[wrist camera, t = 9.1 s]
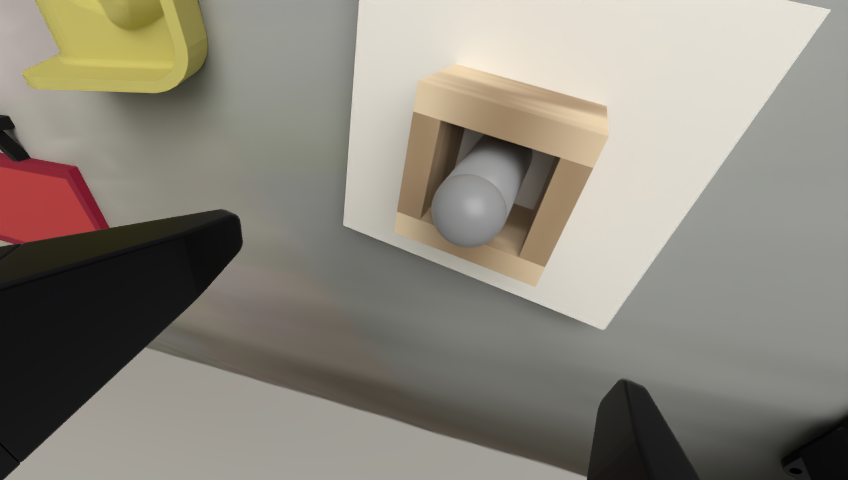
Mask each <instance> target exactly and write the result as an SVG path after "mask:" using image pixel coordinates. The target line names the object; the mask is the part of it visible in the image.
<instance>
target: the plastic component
mask: <svg viewBox="0 0 848 480" xmlns="http://www.w3.org/2000/svg"><path fill="white" fill-rule="evenodd" d="M35 2H36V4H37V6H38V8H39V10H40V12H41V14H42V16H43V18H44V20H45V22H46V24H47V26H48V28H49V30H50V32H51V34H52V36H53V38H54V40H55V42H56V44H57V46H58V49H59V51H60V54H58V55H56V56H54V57H52V58H50V59H47V60H45V61H43V62H41V63H39V64H37V65H35V66H33V67H31V68H29V69H27V70H24V71H23V72H22V75H23V76H24V78H25V80H26V82H27V84H28V85H29V86H30V87H32V88H36V89H54V90H82V91H111V92H139V93H159V92H164V91H168V90H170V89H172V88H173V87H175V86H177V85H178V84H180V83H181V82H183V81H184V80H186V79H187V78H188V77H190V76H191V75H193V74H194V73H196V72H197V71H198V70H199V69H200V68H201V66H202V65H203V64H204V61H205V59H206V57H207V51H208V41H207V34H206V30H205V26H204V22H203V18H202V15H201V11H200V7H199V3H198V0H35Z"/></svg>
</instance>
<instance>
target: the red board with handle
mask: <svg viewBox="0 0 848 480" xmlns="http://www.w3.org/2000/svg"><path fill="white" fill-rule="evenodd" d="M14 127H15V126H14V124H13V122H12V121H11V119H10V117H9V116H5V115H0V150H1V151H2V152H4V153H0V240H2V241H5V242H9V243H12V244H23V243H25V242H31V241H37V240H43V239H48V238H54V237H60V236H66V235H72V234H78V233H84V232H90V231H95V230H101V229H107V228H109V226H108V224H107V222H106V221H105V219H104V217H103V215H102V213H101V211H100V209H99V207H98V205H97V203H96V202H95V200H94V198H93V196H92V194H91V192H90V190H89V188H88V186H87V185H86V183H85V181H84V179H83V177H82V175H81V173H80V171H79V169H78V168H77V167H76V166H70V165H65V164H59V163H54V162H49V161H43V160H38V159H32V158H30V156H29V155H28V154H27V153H26V152H25V151H24V150H23V149H22V148H21V147H20V146H19V145H18V144H17V143H16V142H15V141H13V140H12V139H11V138H10V137H9V136H8V135H7V134H6V133H5V132H4V131H3V130H6V129H10V128H14Z"/></svg>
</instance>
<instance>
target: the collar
mask: <svg viewBox="0 0 848 480" xmlns="http://www.w3.org/2000/svg"><path fill="white" fill-rule="evenodd" d="M465 128H468V129H471V130H474V131H477V132H480V133H483V134H487V135H490V136H493V137H496V138H499V139H503V140H506V141H509V142H512V143H515V144H518V145H522V146H525V147H528V148H531V149H534V150H538V151H541V152H544V153H547V154H550V155H553V156H556V157H555V160H554V162H553V165H552V167H551V169H550V172H549V174H548V177H547V179H546V181H545V184H544V186H543V189H542V191H541V194H540V196H539V198H538V201H537V203H536V206H535V208H534V210H532V209H529V208H526V207H523V206H520V205H517V204H514V203H513V206H512V208H511V210H510V213H509V215H508V218H507V220H506V222H505V224H504V227H503V228H502V230H501V231H500V233H499V234H498V235H497V236H496V237H495V238H494V239H493V240H491V241H490V242H488V243H486V244H484V245H482V246H478V247H472V248H467V247H460V246H457V245H454V244H452V243H450V242H448V241H447V240H446V239H444V238H443V237H442V236H441V234H440V233H439V232H438V230H437V229H436V227H435V225H434V223H433V219H432V214H431V206H432V200H433V197H434V195H435V192H436V191H437V189H438V188H439V186H440V185H441V184H442V183H443V181H444V180H445V179H446V178H447V177H448V176H449V175H450V173H451V172H452V171H453V170H454V169H455V166H456V162H457V158H458V154H459V150H460V146H461V142H462V138H463V134H464V130H465ZM608 137H609V133H608V117H607V106H605V105H601V104H598V103H594V102H591V101H587V100H584V99H580V98H576V97H573V96H569V95H566V94H562V93H558V92H555V91H551V90H548V89H544V88H541V87H537V86H533V85H530V84H526V83H523V82H519V81H515V80H512V79H508V78H505V77H501V76H498V75H494V74H490V73H487V72H483V71H480V70H476V69H473V68H469V67H465V66H462V65H458V64H454V65H452V66H450V67H447V68H445V69H443V70H441V71H438V72H436V73H434V74H432V75H429V76H427V77H425V78H422V79H420V80H418V85H417V91H416V97H415V103H414V109H413V115H412V121H411V128H410V134H409V140H408V146H407V152H406V158H405V165H404V171H403V177H402V183H401V189H400V195H399V201H398V208H397V214H396V220H395V226H394V232H395V233H398V234H400V235H403V236H405V237H408V238H411V239H413V240H416V241H418V242H421V243H423V244H426V245H429V246H431V247H434V248H436V249H439V250H441V251H444V252H447V253H449V254H452V255H454V256H457V257H459V258H462V259H465V260H467V261H470V262H472V263H475V264H477V265H480V266H483V267H485V268H488V269H490V270H493V271H495V272H498V273H501V274H503V275H506V276H508V277H511V278H513V279H516V280H518V281H521V282H524V283H526V284H529V285H531V286H534V287H536V285H537V283H538V281H539V279H540V277H541V275H542V273H543V271H544V269H545V267H546V264H547V262H548V260H549V258H550V256H551V254H552V252H553V250H554V248H555V246H556V244H557V242H558V240H559V238H560V236H561V234H562V232H563V230H564V227H565V225H566V223H567V221H568V219H569V217H570V215H571V213H572V211H573V209H574V207H575V205H576V203H577V201H578V199H579V197H580V195H581V193H582V190H583V188H584V186H585V184H586V182H587V180H588V178H589V176H590V174H591V172H592V170H593V168H594V166H595V164H596V162H597V160H598V158H599V155H600V153H601V151H602V149H603V147H604V145H605V143H606V141H607V139H608Z"/></svg>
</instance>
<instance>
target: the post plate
mask: <svg viewBox="0 0 848 480" xmlns="http://www.w3.org/2000/svg"><path fill="white" fill-rule="evenodd" d="M830 11H831V10H830V9H825V8H820V7H815V6H811V5H806V4H801V3H796V2H792V1H787V0H359V11H358V25H357V39H356V53H355V67H354V81H353V95H352V109H351V123H350V137H349V151H348V165H347V179H346V193H345V207H344V221H343V225H344V226H346V227H349V228H351V229H353V230H356V231H358V232H361V233H363V234H366V235H368V236H371V237H373V238H376V239H378V240H381V241H383V242H386V243H388V244H391V245H393V246H396V247H398V248H401V249H403V250H406V251H408V252H411V253H413V254H416V255H418V256H421V257H423V258H426V259H428V260H430V261H433V262H435V263H438V264H440V265H443V266H445V267H448V268H450V269H453V270H455V271H458V272H460V273H463V274H465V275H468V276H470V277H473V278H475V279H478V280H480V281H483V282H485V283H488V284H490V285H493V286H495V287H498V288H500V289H503V290H505V291H508V292H510V293H512V294H515V295H517V296H520V297H522V298H525V299H527V300H530V301H532V302H535V303H537V304H540V305H542V306H545V307H547V308H550V309H552V310H555V311H557V312H560V313H562V314H565V315H567V316H570V317H572V318H575V319H577V320H580V321H582V322H585V323H587V324H589V325H592V326H594V327H597V328H599V329H602V330H605V328H606V327H607V325H608V324H609V322H610V321H611V320H612V318H613V317H614V315H615V314H616V313H617V311H618V310H619V308H620V307H621V306H622V304H623V303H624V301H625V300H626V298H627V297H628V296H629V294H630V293H631V291H632V290H633V289H634V287H635V286H636V284H637V283H638V282H639V280H640V279H641V277H642V276H643V274H644V273H645V272H646V270H647V269H648V267H649V266H650V265H651V263H652V262H653V260H654V259H655V258H656V256H657V255H658V253H659V252H660V250H661V249H662V248H663V246H664V245H665V243H666V242H667V241H668V239H669V238H670V236H671V235H672V234H673V232H674V231H675V229H676V228H677V226H678V225H679V224H680V222H681V221H682V219H683V218H684V217H685V215H686V214H687V212H688V211H689V210H690V208H691V207H692V205H693V204H694V203H695V201H696V200H697V198H698V197H699V195H700V194H701V193H702V191H703V190H704V188H705V187H706V186H707V184H708V183H709V181H710V180H711V179H712V177H713V176H714V174H715V173H716V171H717V170H718V169H719V167H720V166H721V164H722V163H723V162H724V160H725V159H726V157H727V156H728V155H729V153H730V152H731V150H732V149H733V147H734V146H735V145H736V143H737V142H738V140H739V139H740V138H741V136H742V135H743V133H744V132H745V131H746V129H747V128H748V126H749V125H750V123H751V122H752V121H753V119H754V118H755V116H756V115H757V114H758V112H759V111H760V109H761V108H762V107H763V105H764V104H765V102H766V101H767V99H768V98H769V97H770V95H771V94H772V92H773V91H774V90H775V88H776V87H777V85H778V84H779V83H780V81H781V80H782V78H783V77H784V75H785V74H786V73H787V71H788V70H789V68H790V67H791V66H792V64H793V63H794V61H795V60H796V59H797V57H798V56H799V54H800V53H801V51H802V50H803V49H804V47H805V46H806V44H807V43H808V42H809V40H810V39H811V37H812V36H813V35H814V33H815V32H816V30H817V29H818V27H819V26H820V25H821V23H822V22H823V20H824V19H825V18H826V16H827V15H828V13H829V12H830ZM454 64H458V65H462V66H465V67H469V68H473V69H476V70H480V71H483V72H487V73H490V74H494V75H498V76H501V77H505V78H508V79H512V80H515V81H519V82H523V83H526V84H530V85H533V86H537V87H541V88H544V89H548V90H551V91H555V92H558V93H562V94H566V95H569V96H573V97H576V98H580V99H584V100H587V101H591V102H594V103H598V104H601V105H605V106H607V117H608V133H609V137H608V139H607V141H606V143H605V145H604V147H603V149H602V151H601V153H600V155H599V158H598V160H597V162H596V164H595V166H594V168H593V170H592V172H591V174H590V176H589V178H588V180H587V182H586V184H585V186H584V188H583V190H582V193H581V195H580V197H579V199H578V201H577V203H576V205H575V207H574V209H573V211H572V213H571V215H570V217H569V219H568V221H567V223H566V225H565V227H564V230H563V232H562V234H561V236H560V238H559V240H558V242H557V244H556V246H555V248H554V250H553V252H552V254H551V256H550V258H549V260H548V262H547V264H546V267H545V269H544V271H543V273H542V275H541V277H540V279H539V281H538V283H537V285H536V287H534V286H531V285H529V284H526V283H524V282H521V281H518V280H516V279H513V278H511V277H508V276H506V275H503V274H501V273H498V272H495V271H493V270H490V269H488V268H485V267H483V266H480V265H477V264H475V263H472V262H470V261H467V260H465V259H462V258H459V257H457V256H454V255H452V254H449V253H447V252H444V251H441V250H439V249H436V248H434V247H431V246H429V245H426V244H423V243H421V242H418V241H416V240H413V239H411V238H408V237H405V236H403V235H400V234H398V233H395V232H394V226H395V220H396V214H397V208H398V201H399V195H400V189H401V183H402V177H403V171H404V165H405V158H406V152H407V146H408V140H409V134H410V128H411V121H412V115H413V109H414V103H415V97H416V91H417V85H418V80H420V79H422V78H425V77H427V76H429V75H432V74H434V73H436V72H438V71H441V70H443V69H445V68H447V67H450V66H452V65H454ZM555 157H556V156H553V155H550V154H547V153H544V152H541V151H538V150H534V149H531V148H528V147H525V146H522V145H518V144H515V143H512V142H509V141H506V140H503V139H499V138H496V137H493V136H490V135H487V134H483V133H480V132H477V131H474V130H471V129H468V128H465V130H464V134H463V138H462V142H461V146H460V150H459V154H458V158H457V162H456V166H455V169H454V170H453V171H452V172H451V173H450V175H449V176H448V177H447V178H446V179H445V180H444V181H443V183H442V184H441V185H440V186H439V188H438V189H437V191H436V192H435V195H434V197H433V200H432V206H431V214H432V219H433V223H434V225H435V227H436V229H437V230H438V232H439V233H440V234H441V236H442V237H443V238H444V239H446V240H447V241H448V242H450V243H452V244H454V245H457V246H460V247H467V248H472V247H478V246H482V245H484V244H486V243H488V242H490V241H491V240H493V239H494V238H495V237H496V236H497V235H498V234H499V233H500V231H501V230H502V228H503V227H504V224H505V222H506V220H507V218H508V215H509V213H510V210H511V208H512V206H513V203H514V204H517V205H520V206H523V207H526V208H529V209H532V210H534V208H535V206H536V203H537V201H538V198H539V196H540V194H541V191H542V189H543V186H544V184H545V181H546V179H547V177H548V174H549V172H550V169H551V167H552V165H553V162H554V160H555Z"/></svg>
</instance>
